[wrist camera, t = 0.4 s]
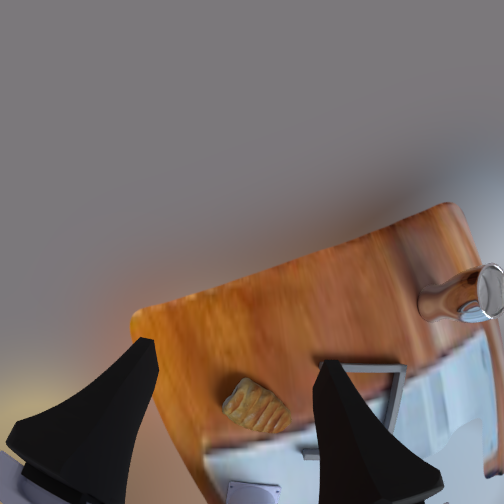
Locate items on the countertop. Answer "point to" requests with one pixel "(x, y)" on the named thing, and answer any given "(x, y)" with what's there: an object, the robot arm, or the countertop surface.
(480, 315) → the beer glass
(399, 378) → the tray slot
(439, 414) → the countertop surface
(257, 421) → the pastry
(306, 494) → the countertop surface
